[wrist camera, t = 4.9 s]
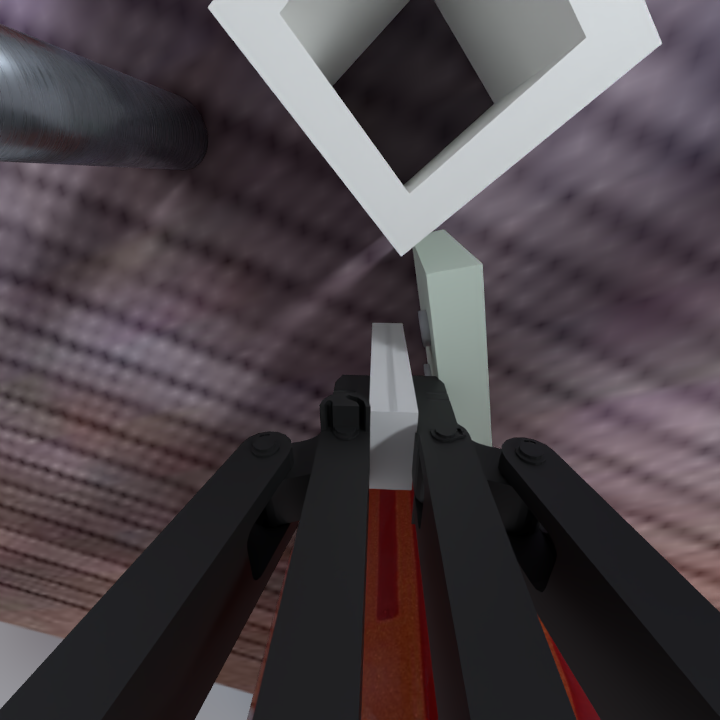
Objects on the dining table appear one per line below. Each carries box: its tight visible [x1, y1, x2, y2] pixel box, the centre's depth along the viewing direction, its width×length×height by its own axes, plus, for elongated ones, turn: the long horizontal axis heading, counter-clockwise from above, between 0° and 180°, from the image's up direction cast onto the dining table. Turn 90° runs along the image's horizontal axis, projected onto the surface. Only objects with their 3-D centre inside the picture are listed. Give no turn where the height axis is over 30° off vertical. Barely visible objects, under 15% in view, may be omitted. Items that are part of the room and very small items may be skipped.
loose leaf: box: [413, 230, 492, 447], centre depth 16 cm, size 2×9×8 cm, turn 11°
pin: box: [0, 24, 208, 170], centre depth 12 cm, size 3×3×11 cm
